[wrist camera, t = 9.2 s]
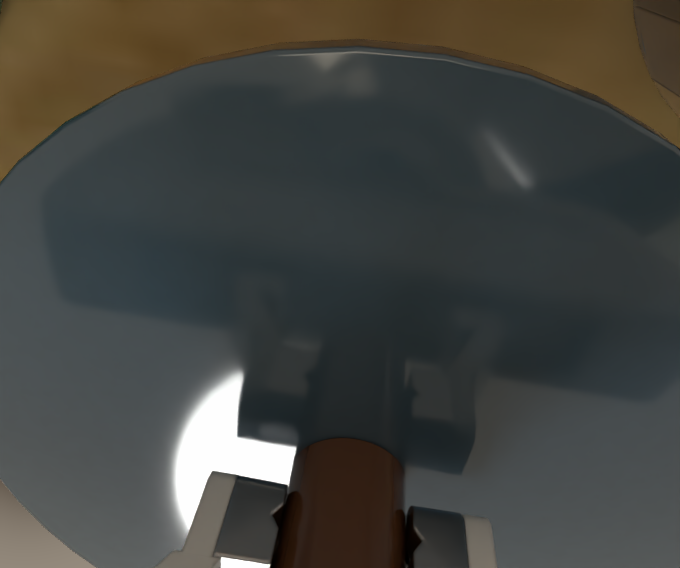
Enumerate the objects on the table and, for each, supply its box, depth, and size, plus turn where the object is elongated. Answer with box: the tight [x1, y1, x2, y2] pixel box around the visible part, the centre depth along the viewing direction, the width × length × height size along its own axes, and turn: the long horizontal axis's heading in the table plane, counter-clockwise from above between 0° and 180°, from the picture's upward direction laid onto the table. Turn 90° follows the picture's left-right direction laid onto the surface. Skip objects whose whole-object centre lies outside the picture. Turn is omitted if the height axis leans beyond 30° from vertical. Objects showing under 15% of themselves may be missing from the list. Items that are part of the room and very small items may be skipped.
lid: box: [0, 39, 680, 568], centre depth 11 cm, size 17×17×5 cm
